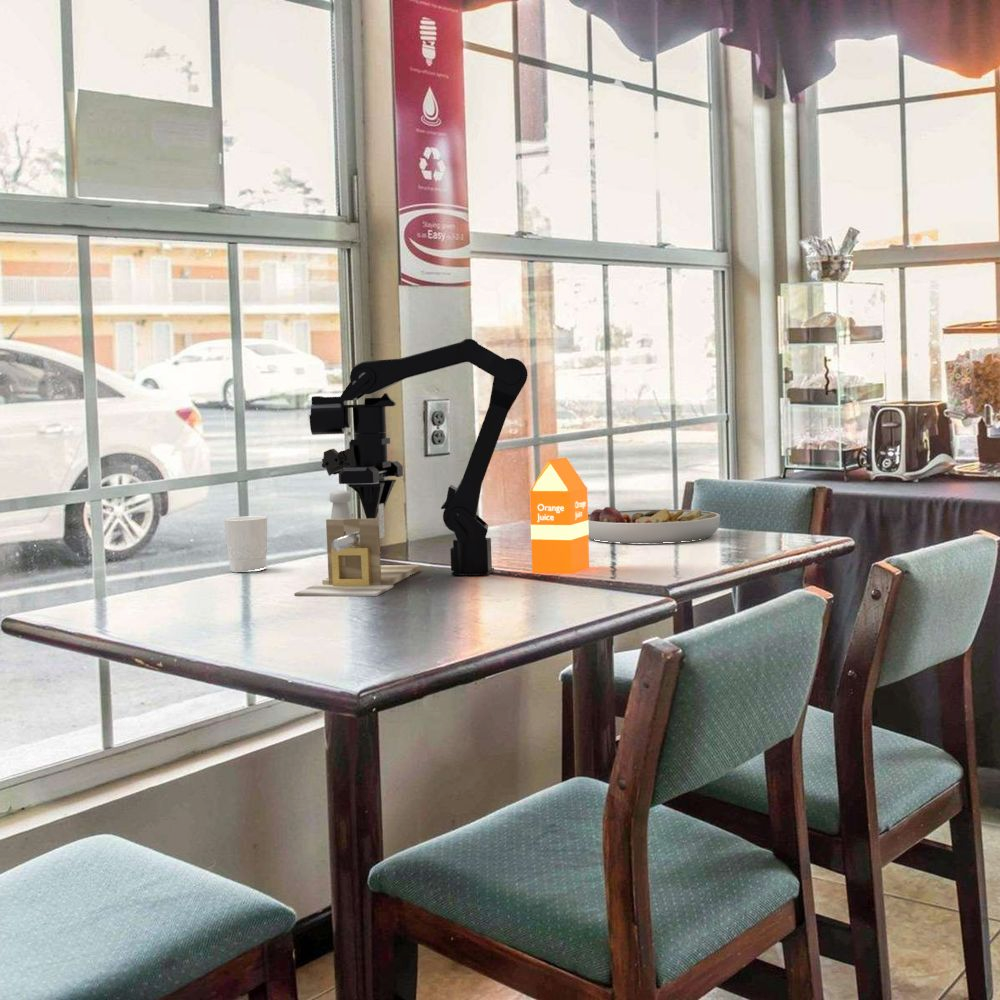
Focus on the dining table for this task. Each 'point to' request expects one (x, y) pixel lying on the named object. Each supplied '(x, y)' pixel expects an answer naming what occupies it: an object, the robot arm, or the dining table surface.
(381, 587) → the wooden latch stand
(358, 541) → the shaft
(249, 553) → the white cup
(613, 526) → the bowl
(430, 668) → the dining table surface
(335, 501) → the salt shaker
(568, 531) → the orange juice
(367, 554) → the frame
